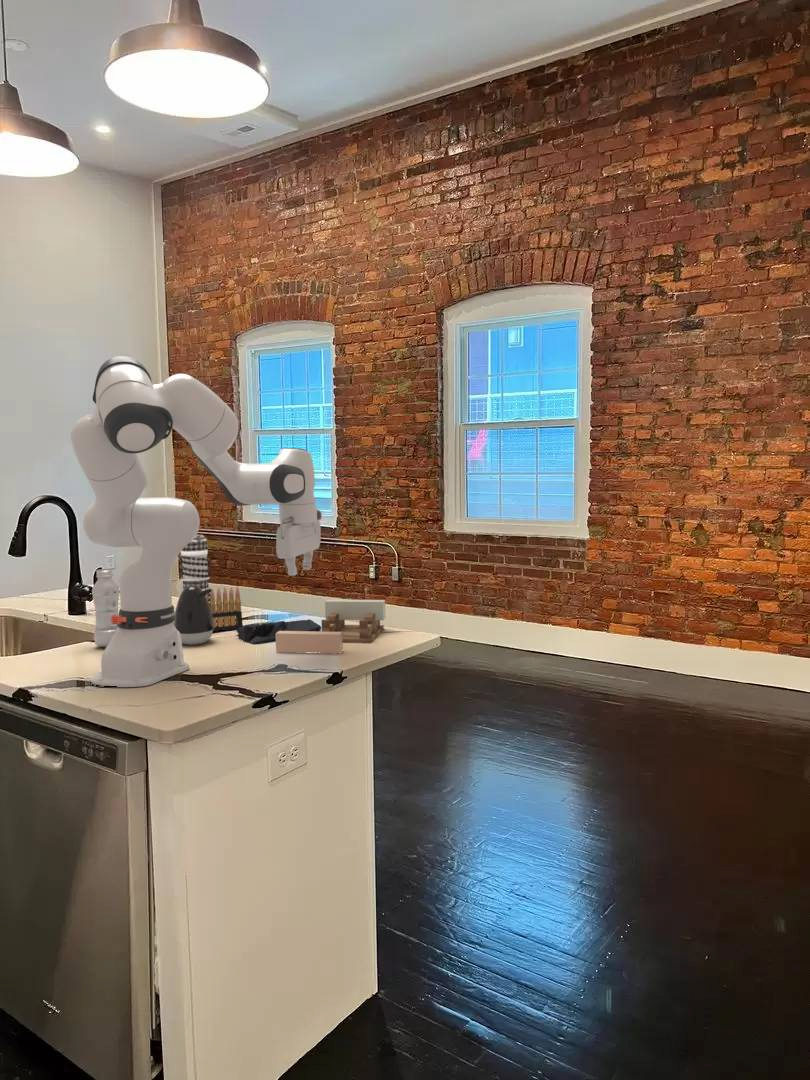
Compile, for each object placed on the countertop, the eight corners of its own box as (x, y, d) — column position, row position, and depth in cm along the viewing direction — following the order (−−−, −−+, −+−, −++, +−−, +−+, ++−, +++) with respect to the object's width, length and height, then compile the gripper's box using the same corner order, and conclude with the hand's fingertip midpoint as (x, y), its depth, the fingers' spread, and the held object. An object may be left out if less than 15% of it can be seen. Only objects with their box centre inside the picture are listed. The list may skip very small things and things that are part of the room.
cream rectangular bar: (385, 618, 216) (385, 600, 215) (383, 620, 213) (382, 601, 212) (328, 617, 219) (327, 599, 218) (325, 619, 216) (325, 601, 215)
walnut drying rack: (370, 642, 202) (370, 621, 202) (317, 641, 205) (316, 620, 204) (384, 628, 219) (383, 609, 218) (334, 628, 221) (334, 608, 221)
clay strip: (342, 651, 194) (342, 631, 194) (339, 654, 191) (339, 634, 191) (280, 650, 197) (279, 630, 197) (276, 653, 194) (275, 633, 194)
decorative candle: (176, 617, 243) (172, 535, 241) (203, 612, 249) (200, 533, 247) (190, 621, 236) (186, 537, 234) (218, 616, 243) (214, 534, 240)
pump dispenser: (205, 648, 201) (202, 588, 199) (167, 647, 203) (164, 588, 201) (222, 639, 211) (219, 582, 209) (185, 638, 213) (183, 582, 211)
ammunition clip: (241, 627, 225) (240, 585, 224) (243, 628, 224) (241, 586, 222) (203, 631, 221) (201, 588, 220) (204, 632, 219) (202, 589, 218)
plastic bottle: (94, 645, 206) (90, 569, 205) (122, 642, 209) (117, 567, 207) (94, 650, 200) (89, 572, 199) (122, 648, 203) (118, 570, 201)
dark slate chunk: (328, 636, 213) (327, 619, 213) (249, 647, 203) (248, 629, 202) (306, 626, 227) (305, 610, 226) (231, 636, 216) (230, 619, 215)
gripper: (293, 519, 181) (296, 579, 183) (324, 512, 201) (326, 566, 202) (268, 519, 183) (270, 579, 184) (300, 512, 202) (303, 566, 204)
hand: (300, 572), depth 193 cm, fingers open, 8 cm apart
